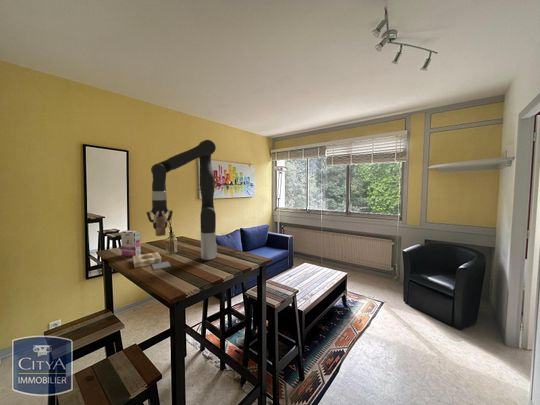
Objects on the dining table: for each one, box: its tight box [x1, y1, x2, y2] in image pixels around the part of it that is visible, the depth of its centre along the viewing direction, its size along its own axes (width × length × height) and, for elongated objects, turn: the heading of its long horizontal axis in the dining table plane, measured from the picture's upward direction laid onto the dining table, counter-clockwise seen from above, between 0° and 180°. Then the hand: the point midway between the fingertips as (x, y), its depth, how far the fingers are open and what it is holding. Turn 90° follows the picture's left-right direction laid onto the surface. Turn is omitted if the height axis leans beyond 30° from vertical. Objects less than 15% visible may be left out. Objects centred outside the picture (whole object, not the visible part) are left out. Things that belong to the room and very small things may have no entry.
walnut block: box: [154, 215, 166, 237], centre depth 128 cm, size 4×4×11 cm
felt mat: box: [151, 261, 172, 271], centre depth 130 cm, size 9×9×1 cm
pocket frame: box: [132, 251, 163, 269], centre depth 137 cm, size 14×14×3 cm
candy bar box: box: [120, 229, 142, 258], centre depth 147 cm, size 11×5×16 cm, turn 76°
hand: (160, 228), depth 128 cm, fingers closed on walnut block, 4 cm apart
